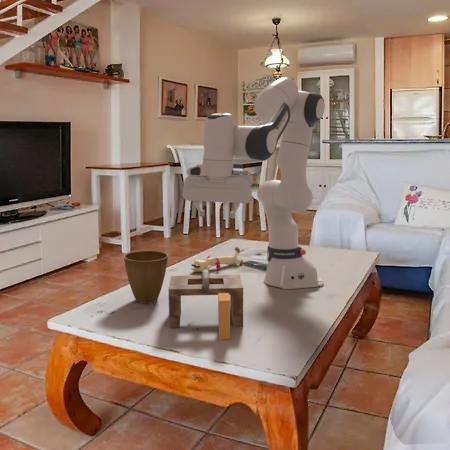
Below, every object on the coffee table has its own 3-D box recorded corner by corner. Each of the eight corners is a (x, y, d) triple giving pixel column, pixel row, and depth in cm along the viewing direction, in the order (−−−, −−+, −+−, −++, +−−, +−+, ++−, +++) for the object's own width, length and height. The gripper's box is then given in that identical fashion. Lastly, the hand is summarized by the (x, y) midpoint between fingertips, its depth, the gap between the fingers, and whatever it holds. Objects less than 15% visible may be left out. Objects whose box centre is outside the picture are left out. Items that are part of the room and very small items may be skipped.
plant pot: (131, 310, 168) (129, 262, 166) (121, 296, 182) (119, 252, 179) (174, 303, 174) (173, 257, 171) (161, 291, 188) (160, 248, 185)
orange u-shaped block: (218, 330, 151) (218, 293, 149) (228, 330, 151) (228, 292, 149) (219, 339, 144) (219, 300, 142) (230, 339, 145) (230, 300, 143)
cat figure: (231, 264, 230) (185, 269, 215) (233, 245, 229) (186, 248, 213) (246, 269, 222) (199, 274, 207) (247, 249, 221) (200, 253, 206)
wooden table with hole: (239, 310, 168) (239, 268, 165) (243, 326, 154) (243, 281, 152) (171, 311, 167) (170, 269, 164) (169, 328, 153) (168, 282, 150)
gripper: (254, 170, 150) (253, 217, 153) (187, 168, 154) (186, 213, 157) (251, 171, 144) (250, 220, 147) (181, 169, 148) (180, 216, 151)
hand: (216, 216), depth 152 cm, fingers open, 8 cm apart
